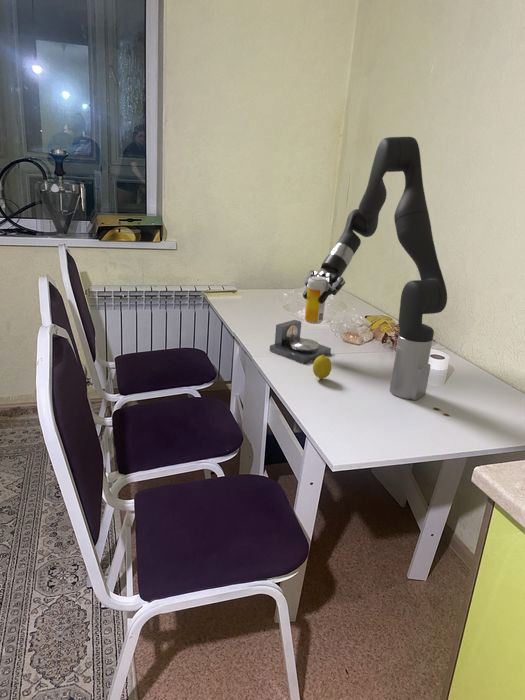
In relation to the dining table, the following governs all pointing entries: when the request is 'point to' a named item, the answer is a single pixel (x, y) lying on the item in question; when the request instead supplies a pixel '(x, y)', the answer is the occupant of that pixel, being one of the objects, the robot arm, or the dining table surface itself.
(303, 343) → the pan
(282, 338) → the scale
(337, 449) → the dining table surface
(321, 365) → the lemon
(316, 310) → the beer can
